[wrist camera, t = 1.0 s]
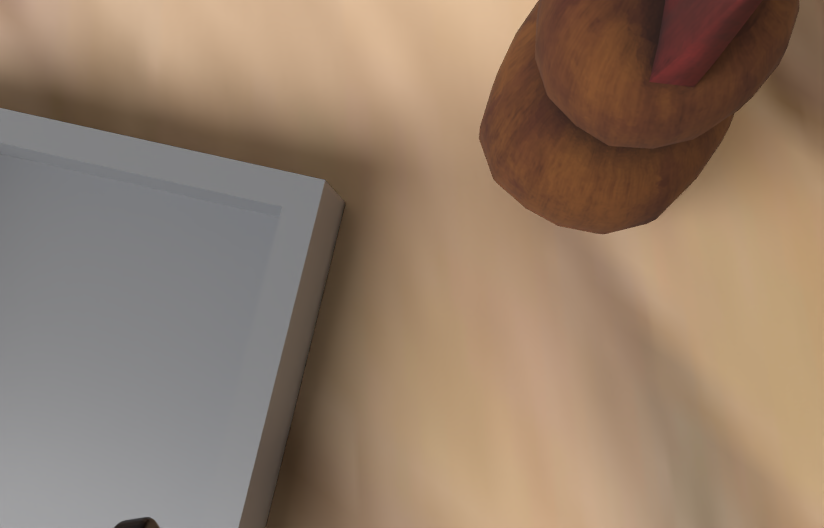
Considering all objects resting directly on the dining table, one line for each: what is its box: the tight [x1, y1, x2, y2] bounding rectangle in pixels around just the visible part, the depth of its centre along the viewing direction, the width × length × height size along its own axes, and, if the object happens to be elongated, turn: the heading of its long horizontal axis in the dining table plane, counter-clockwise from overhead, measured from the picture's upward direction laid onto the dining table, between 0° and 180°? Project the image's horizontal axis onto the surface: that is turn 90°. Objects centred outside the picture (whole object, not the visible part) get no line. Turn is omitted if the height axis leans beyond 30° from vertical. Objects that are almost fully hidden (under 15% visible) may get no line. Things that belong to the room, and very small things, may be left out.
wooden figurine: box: [479, 0, 799, 234], centre depth 16 cm, size 7×6×15 cm
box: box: [0, 108, 345, 528], centre depth 22 cm, size 16×17×4 cm
